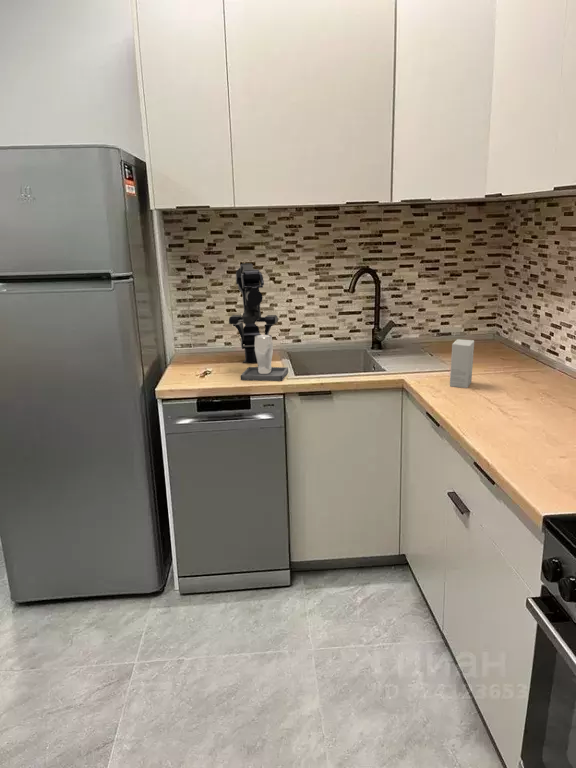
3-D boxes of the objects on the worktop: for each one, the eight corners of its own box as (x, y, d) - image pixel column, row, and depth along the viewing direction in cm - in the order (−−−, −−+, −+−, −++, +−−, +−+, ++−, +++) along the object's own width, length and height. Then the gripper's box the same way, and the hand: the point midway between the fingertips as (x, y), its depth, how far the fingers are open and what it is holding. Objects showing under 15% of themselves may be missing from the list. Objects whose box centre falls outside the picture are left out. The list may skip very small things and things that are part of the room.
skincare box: (454, 380, 215) (456, 338, 210) (473, 382, 212) (475, 340, 207) (449, 386, 207) (451, 343, 203) (468, 388, 204) (470, 344, 200)
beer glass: (271, 376, 225) (269, 338, 221) (253, 376, 226) (252, 337, 222) (275, 372, 231) (274, 334, 227) (258, 371, 233) (256, 334, 229)
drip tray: (249, 371, 237) (248, 366, 236) (288, 372, 234) (288, 367, 233) (240, 380, 224) (240, 375, 224) (282, 381, 221) (281, 375, 221)
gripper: (223, 305, 226) (226, 344, 230) (271, 304, 222) (273, 345, 226) (231, 301, 236) (233, 339, 240) (277, 300, 233) (278, 339, 237)
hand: (254, 340), depth 236 cm, fingers open, 9 cm apart
